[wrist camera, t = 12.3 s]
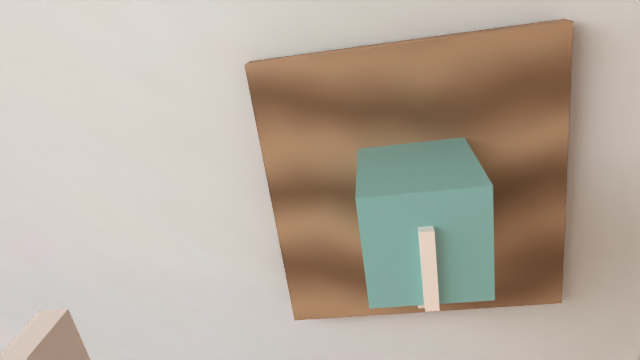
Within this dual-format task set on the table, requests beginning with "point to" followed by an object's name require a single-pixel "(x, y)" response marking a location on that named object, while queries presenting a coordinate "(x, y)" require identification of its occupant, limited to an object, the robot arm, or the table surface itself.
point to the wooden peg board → (410, 127)
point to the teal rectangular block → (425, 224)
